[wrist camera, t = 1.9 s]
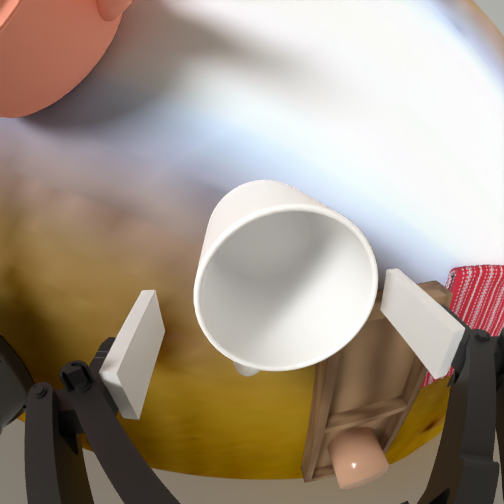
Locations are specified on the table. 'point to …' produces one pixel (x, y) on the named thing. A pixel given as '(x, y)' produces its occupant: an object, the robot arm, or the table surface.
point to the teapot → (51, 48)
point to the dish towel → (476, 300)
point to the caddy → (365, 387)
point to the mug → (282, 279)
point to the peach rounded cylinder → (357, 458)
